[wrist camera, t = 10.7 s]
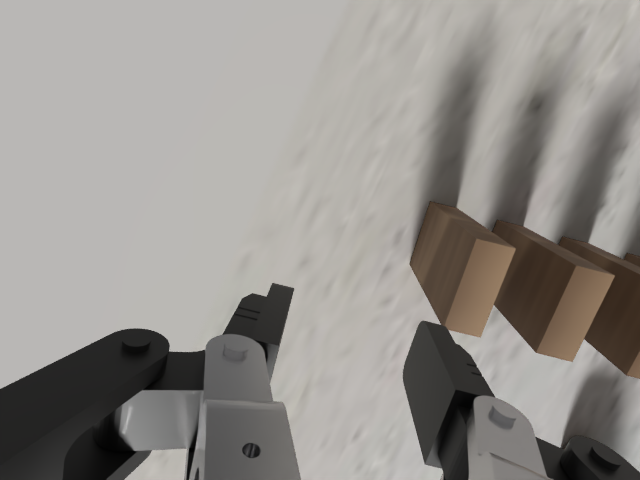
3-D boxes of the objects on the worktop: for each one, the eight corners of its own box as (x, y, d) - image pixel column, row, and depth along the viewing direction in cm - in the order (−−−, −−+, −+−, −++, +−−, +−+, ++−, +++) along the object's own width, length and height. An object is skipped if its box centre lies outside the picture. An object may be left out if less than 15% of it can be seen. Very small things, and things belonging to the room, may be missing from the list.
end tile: (456, 207, 29) (515, 248, 19) (434, 270, 30) (480, 337, 21) (430, 201, 29) (476, 238, 19) (409, 264, 30) (443, 328, 21)
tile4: (523, 226, 29) (615, 275, 19) (498, 287, 30) (572, 361, 21) (497, 219, 29) (576, 265, 19) (473, 281, 30) (536, 352, 21)
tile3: (588, 243, 29) (711, 300, 20) (560, 303, 31) (662, 384, 21) (562, 236, 29) (672, 290, 20) (535, 297, 31) (626, 375, 21)
